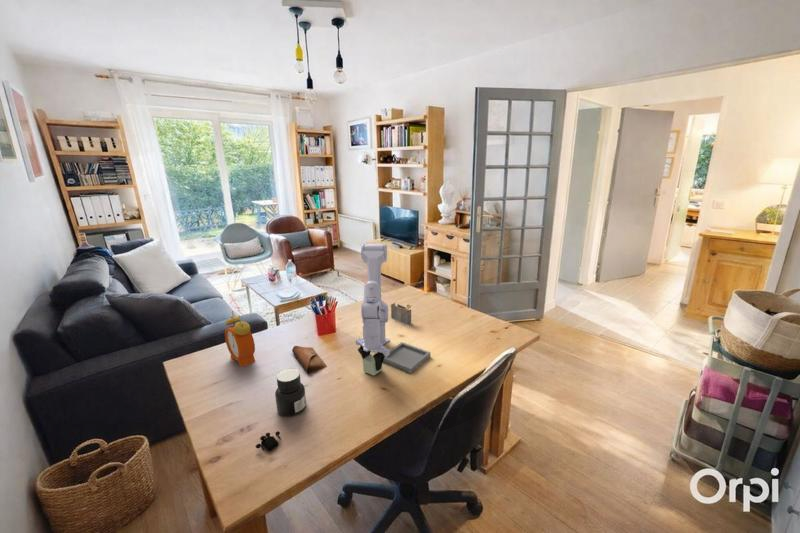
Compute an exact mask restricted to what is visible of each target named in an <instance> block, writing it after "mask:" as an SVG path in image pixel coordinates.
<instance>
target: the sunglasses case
mask: <svg viewBox="0 0 800 533" xmlns="http://www.w3.org/2000/svg"><path fill="white" fill-rule="evenodd" d="M291 352H292V354H293V355H294V357H295V359H297V361H298V362H299V363H300V365H301V366H302V368H303V369H304V371H305V372H306V373H307V374H312V373H314V372H317V371H321V370H323V369H326V368H327V367H328V366H327V364H326V363H325V362H324V360H323V359H322V358H321V357H320V355H318V353H317V352H316V350H315V349H314V347H307V346H300V345H294V346H293V347H292V350H291Z"/></svg>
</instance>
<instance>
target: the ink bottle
mask: <svg viewBox="0 0 800 533" xmlns="http://www.w3.org/2000/svg"><path fill="white" fill-rule="evenodd" d="M276 385H277V388H276V390H275V393H274V395H275V403H276V404H275V406H276V411H277V414H279V416H282V417H286V418H287V417H294V416H297V415H300V414H301V413H302V412H303V411H304V410H305V409H306V407H307V399H306V398H307V397H306V388H305V385H304V384H303V383H302V382H301V373H300V370H298V369H296V368H287V369H284V370H282V371H280V372H278V374H277V375H276Z"/></svg>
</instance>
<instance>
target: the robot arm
mask: <svg viewBox="0 0 800 533" xmlns="http://www.w3.org/2000/svg"><path fill="white" fill-rule="evenodd" d="M360 248H361V249H360V256H361V259H362V261H363V263H364V264H366V266H367V268H366V269H367V282H366V283H365V284H364V286H363V289H364V290H363V303H362V304H361V312H360V313H361V318H362V319H361V320H362V324H363V326H362V338H361V337H358V338H356V339H355V345H356V346H359V345H360V346H359V347H358V348H357V351H358V354H360V356H361V358H362V360H363V359H364V358H366V357H367V356H369V355H370V354H371V352H373V354H374V355H373V357H374V360H375V364H376V370H377V371H379V370H380V369H381V367H383V363H384V362H383V360H384V358H385V356H386V357H387V356H388V355H390V350H391V349H389V348H387V347H386V346H384V345H385V344H387V343H389V341H390V340H391V339H390V338H387V337H386V323H388V322H389V305H388V303H387V302H385V301H384V300H382V265H383V264H384V263H386V262H387V260H388V246H387V244H386V243H362V245H361V247H360ZM374 352H375V353H374Z"/></svg>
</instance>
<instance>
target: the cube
mask: <svg viewBox="0 0 800 533" xmlns="http://www.w3.org/2000/svg"><path fill="white" fill-rule="evenodd" d="M374 354H375V353H370V355H369V356H367V357H366V358H364V359H363V358H362V366H363V367H362V369H363V370H362V371H363V372H365V373H367V374H369V375H371V376H376V375H377V374H378V373H379V372H381V371H382V370H383V366H382V367H381V369H380V370H379V371H377V370H376V364H375V360H374V357H373V355H374Z"/></svg>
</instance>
